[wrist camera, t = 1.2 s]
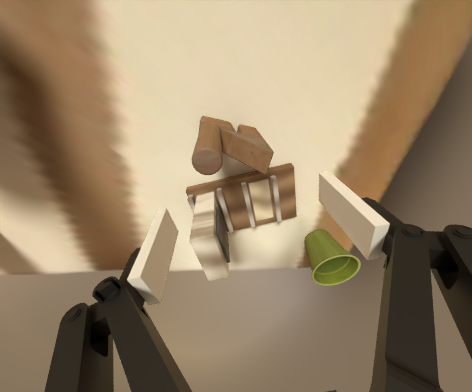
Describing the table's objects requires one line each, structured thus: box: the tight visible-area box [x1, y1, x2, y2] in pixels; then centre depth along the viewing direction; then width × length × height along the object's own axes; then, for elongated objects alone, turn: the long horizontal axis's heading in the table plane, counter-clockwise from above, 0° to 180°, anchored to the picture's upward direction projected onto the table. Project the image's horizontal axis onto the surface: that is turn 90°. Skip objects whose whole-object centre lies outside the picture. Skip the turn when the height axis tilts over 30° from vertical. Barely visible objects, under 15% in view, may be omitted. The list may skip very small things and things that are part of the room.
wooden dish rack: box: [186, 163, 297, 281], centre depth 40 cm, size 14×24×16 cm, turn 102°
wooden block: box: [192, 116, 274, 175], centre depth 30 cm, size 4×11×18 cm, turn 77°
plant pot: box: [305, 230, 360, 286], centre depth 52 cm, size 12×12×11 cm
